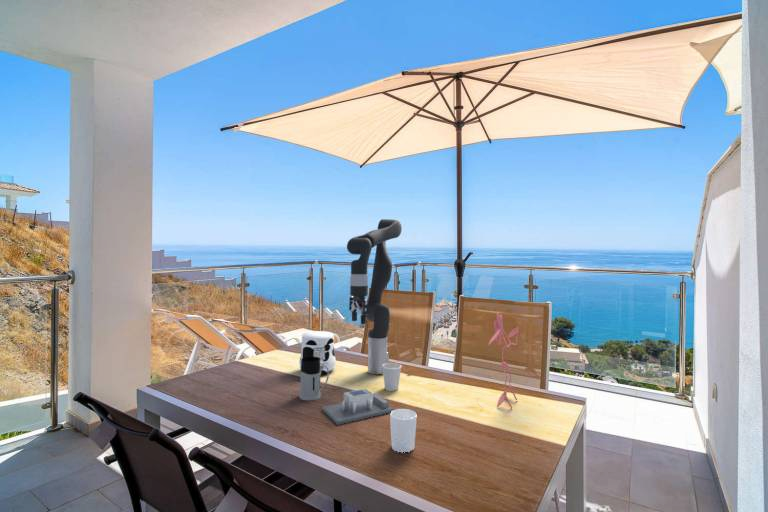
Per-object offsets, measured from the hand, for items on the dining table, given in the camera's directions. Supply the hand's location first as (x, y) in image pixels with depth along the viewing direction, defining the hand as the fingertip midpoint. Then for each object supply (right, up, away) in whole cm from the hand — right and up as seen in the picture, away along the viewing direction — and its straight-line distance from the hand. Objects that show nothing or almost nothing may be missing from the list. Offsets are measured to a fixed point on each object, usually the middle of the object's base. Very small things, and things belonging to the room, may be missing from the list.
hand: (358, 322), depth 164 cm
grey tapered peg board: (+1, -28, -24) cm, 37 cm away
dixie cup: (+14, -28, -1) cm, 32 cm away
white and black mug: (-17, -28, -12) cm, 35 cm away
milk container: (-21, -28, +22) cm, 42 cm away
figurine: (+55, -29, -14) cm, 64 cm away
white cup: (+17, -29, -50) cm, 60 cm away
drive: (+1, -27, -24) cm, 36 cm away
